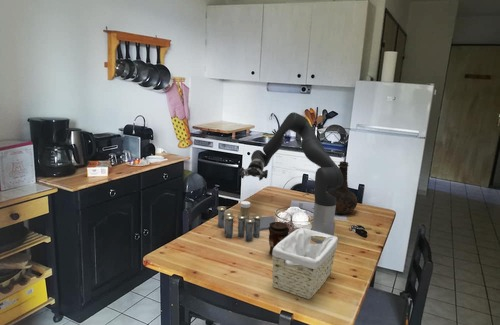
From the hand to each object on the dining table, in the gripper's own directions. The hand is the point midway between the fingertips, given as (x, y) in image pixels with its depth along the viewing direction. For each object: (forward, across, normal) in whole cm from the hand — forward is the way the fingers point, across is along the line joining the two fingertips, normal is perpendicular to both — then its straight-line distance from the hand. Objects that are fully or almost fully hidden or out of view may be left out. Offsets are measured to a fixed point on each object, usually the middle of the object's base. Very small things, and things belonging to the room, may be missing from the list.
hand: (251, 177), depth 177 cm
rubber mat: (+3, +9, +22) cm, 24 cm away
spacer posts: (+17, -1, +21) cm, 27 cm away
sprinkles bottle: (+13, 0, +22) cm, 25 cm away
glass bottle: (-27, +46, +24) cm, 59 cm away
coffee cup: (+34, +17, +20) cm, 43 cm away
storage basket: (+51, +28, +18) cm, 61 cm away
